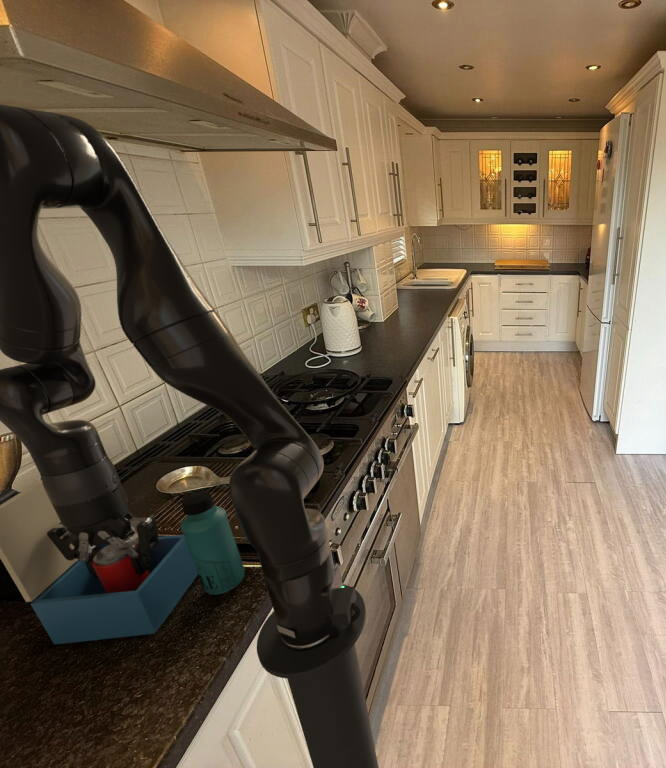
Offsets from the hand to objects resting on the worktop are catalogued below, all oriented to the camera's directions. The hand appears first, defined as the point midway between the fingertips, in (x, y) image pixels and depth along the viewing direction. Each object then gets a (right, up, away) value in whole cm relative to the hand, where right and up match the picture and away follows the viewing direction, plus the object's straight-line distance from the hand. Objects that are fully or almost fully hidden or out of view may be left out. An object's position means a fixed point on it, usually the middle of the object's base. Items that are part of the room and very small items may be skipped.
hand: (123, 572), depth 68 cm
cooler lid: (-7, +9, -4) cm, 12 cm away
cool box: (-1, -7, +3) cm, 7 cm away
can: (0, -6, +2) cm, 7 cm away
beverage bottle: (+13, -6, +6) cm, 15 cm away
